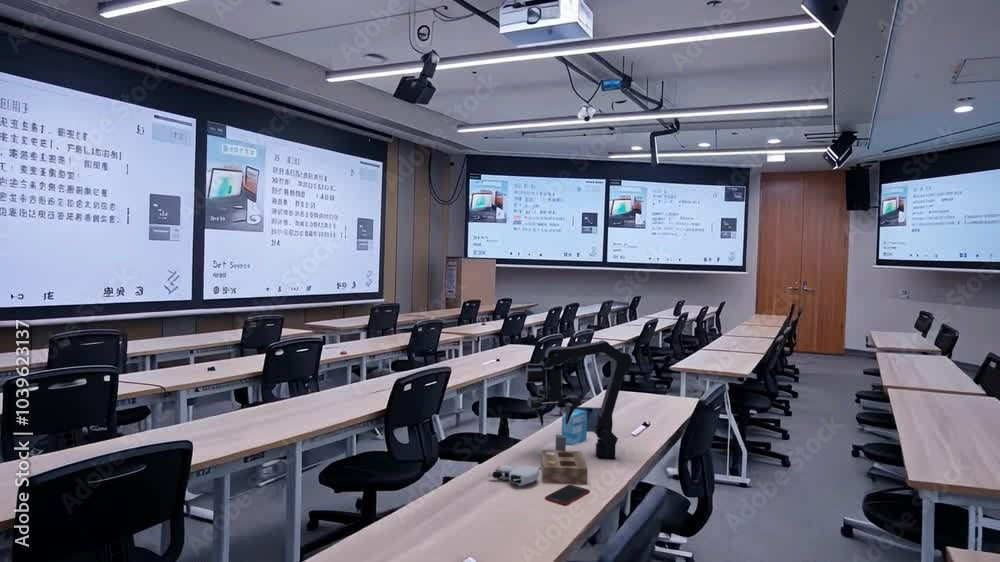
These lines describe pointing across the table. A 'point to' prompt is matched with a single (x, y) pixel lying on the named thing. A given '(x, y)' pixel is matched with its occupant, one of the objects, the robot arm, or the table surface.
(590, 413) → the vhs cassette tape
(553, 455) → the socket box
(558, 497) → the cell phone
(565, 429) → the data package
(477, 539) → the table surface
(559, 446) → the plug
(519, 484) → the robot toy
